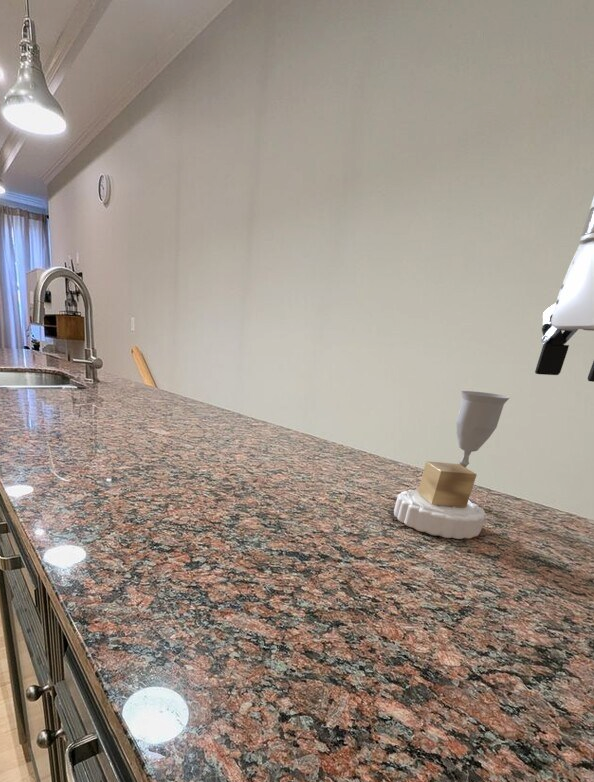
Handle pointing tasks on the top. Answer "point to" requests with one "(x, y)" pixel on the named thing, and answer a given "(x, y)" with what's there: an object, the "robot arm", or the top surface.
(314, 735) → the top surface
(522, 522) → the top surface
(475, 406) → the chalice
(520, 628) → the top surface
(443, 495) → the block
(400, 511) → the mooncake
